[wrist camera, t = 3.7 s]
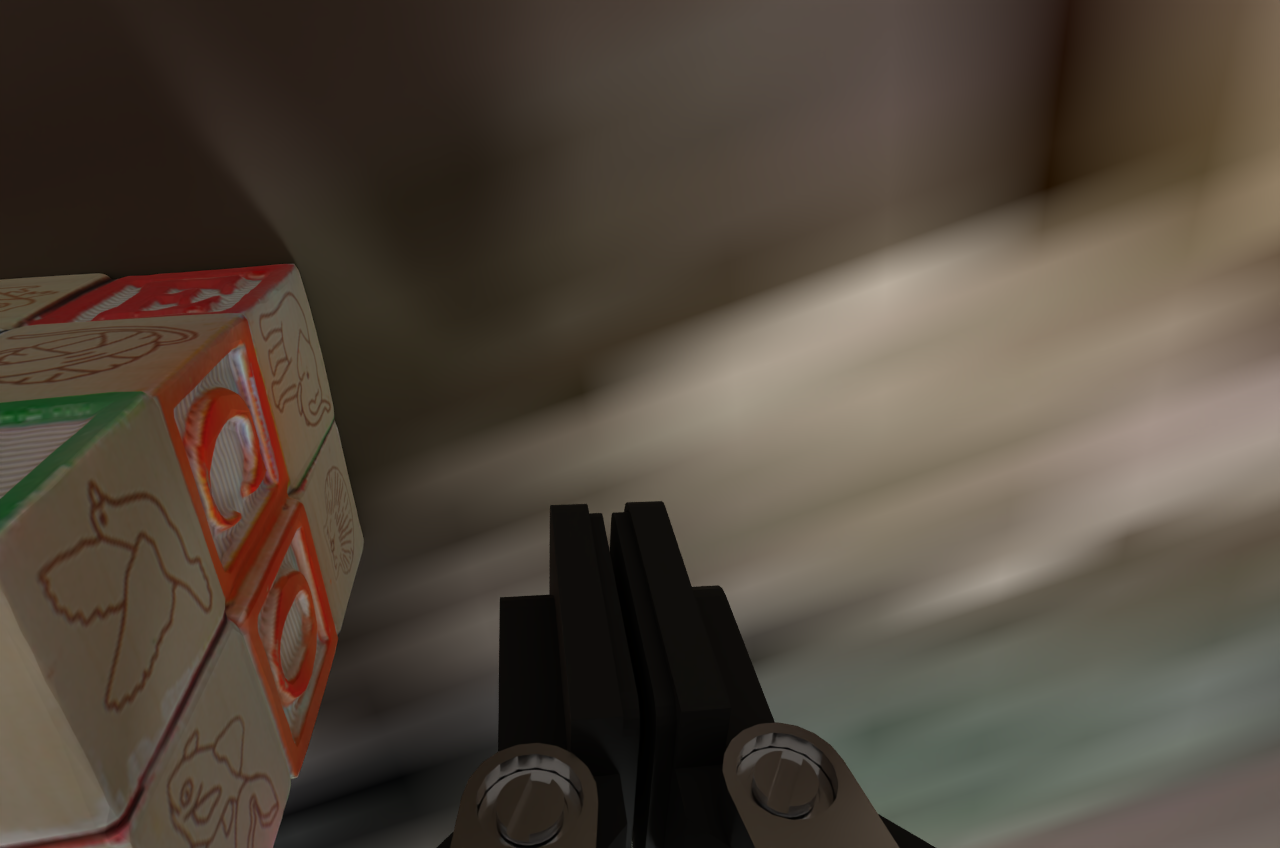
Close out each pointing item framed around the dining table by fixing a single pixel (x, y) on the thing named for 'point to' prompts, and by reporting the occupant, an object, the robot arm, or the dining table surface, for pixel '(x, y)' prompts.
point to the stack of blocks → (164, 555)
